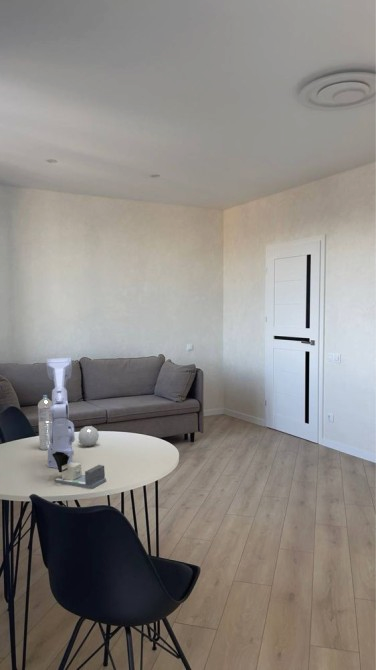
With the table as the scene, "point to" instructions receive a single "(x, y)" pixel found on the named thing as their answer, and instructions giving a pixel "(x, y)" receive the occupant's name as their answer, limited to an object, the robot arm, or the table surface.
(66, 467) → the off-white block with tab
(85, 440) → the glossy grey ball
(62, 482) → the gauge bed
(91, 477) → the grey rectangular block
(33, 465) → the table surface
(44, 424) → the water bottle
